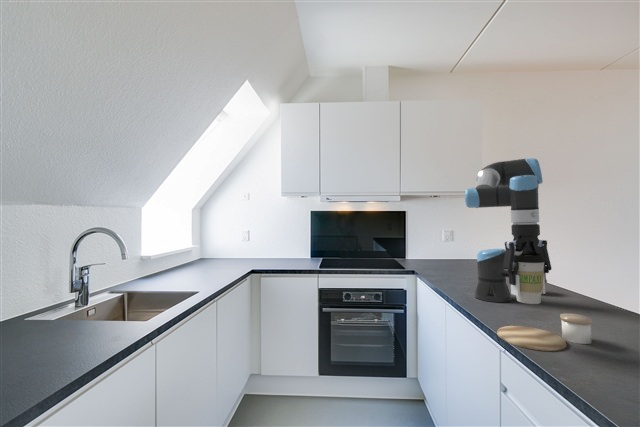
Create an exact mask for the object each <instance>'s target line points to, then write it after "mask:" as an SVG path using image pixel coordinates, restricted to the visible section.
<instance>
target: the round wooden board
mask: <svg viewBox="0 0 640 427" xmlns="http://www.w3.org/2000/svg"><path fill="white" fill-rule="evenodd" d="M496 333H497V336H498V338H499V339H501V340H503V341H504V342H506V343H507V344H510V345H513V346H516V347H520V348H522V349H527V350H532V351H533V350H534V351H540V352H558V351H562V350H564V349H567V340H565V339H563V338H562V336H560V335H558V334H556V333H554V332H552V331H548V330H545V329H541V328H537V327H536V328H535V327H532V326H523V325H507V326H501V327H500V328H498V329H497V331H496Z"/></svg>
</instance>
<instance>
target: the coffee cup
mask: <svg viewBox="0 0 640 427" xmlns="http://www.w3.org/2000/svg"><path fill="white" fill-rule="evenodd" d="M513 261H514V262H518V264H519V269H518V272H517V274H516V275H519V282H520V296H516V295H515V297H516V301H517V302H519V303H523V304H529V305H539V304H541V302H542V299H541V298H542V293H541V292H542V288H543V278H544V262H546V260H545V259H544V257H543V255H541V254H538V256H531V255H530V254H528V253H526V254H525V255H524V256H519V255H514V260H513Z"/></svg>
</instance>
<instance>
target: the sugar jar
mask: <svg viewBox="0 0 640 427" xmlns="http://www.w3.org/2000/svg"><path fill="white" fill-rule="evenodd" d="M559 319H560V320H561V337H562V338H563V339H564V340H565V341H566V342H570V343H573V344H580V345H590V344H592V324H593V319H592V318H591V317H589V316H585V315H583V314H577V313H560V315H559Z"/></svg>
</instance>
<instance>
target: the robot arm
mask: <svg viewBox="0 0 640 427" xmlns="http://www.w3.org/2000/svg"><path fill="white" fill-rule="evenodd" d="M475 181H476V184H475V186H474V187H469V188H467V189H465V192H464V200H465V201H464V202H465V206H466V207H467V208H469V209H470V208H472V209H473V208H475V209H478V208H479V209H480V208H501V207H502V208H503V207H504V208H505V207H510V221H511V223H512V225H511V226H510V227H511V235H512V237H513V239H512V241H505V242H504V248H490V249H483V250H480V251H478V252H477V254H476V255H477V256H476V258H477V260H476V262H477V283H476V287H475V291H474V298H475V299H478V300H481V301H484V302H491V303H507V302H511V301H512V295H513V296H515V297H516V296H520V282H519V275H516V274H517V272H518V269H519V264H518V262H514V261H513V260H514V255H519V256H524V255H525V254H526V253H528V254H530V255H531V256H538V254H541V255H543V257H544V259H545V260H546V262H544V278H543V288H542V292H541V295H544V294H546V287H545V282H546V279H547V278H546V277H547V275H546V274H549V273H550V271H551V270H552V264H551V261H550V256H549V251H548V240H545V239H539V236H540V235H541V226H540V224H539V222H540V211H539V210H540V206H539V185H540V184H542V183H543V175H542V169H541V166H540V163H539V160H538V159H537V158H532V157H531V158H518V159H513V160H504V161H497V162H493V163H491V164H488V165H486V166H484V167H483V168H482V169H481V170H479V172H478V173H477V175H476V180H475ZM507 278H508V283H509V285H510V289H509V287H508V285H507Z"/></svg>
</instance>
